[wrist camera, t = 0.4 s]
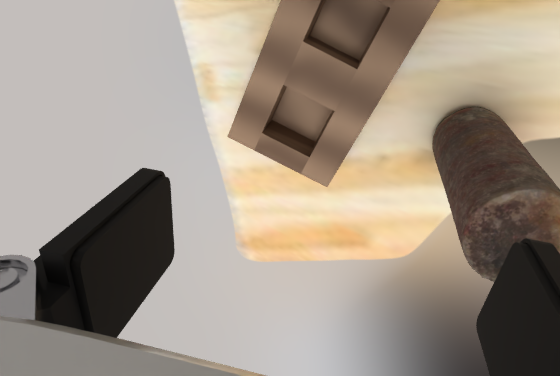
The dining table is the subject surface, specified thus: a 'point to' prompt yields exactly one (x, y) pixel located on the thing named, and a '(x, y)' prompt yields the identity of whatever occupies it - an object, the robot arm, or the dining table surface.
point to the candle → (493, 188)
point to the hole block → (324, 78)
